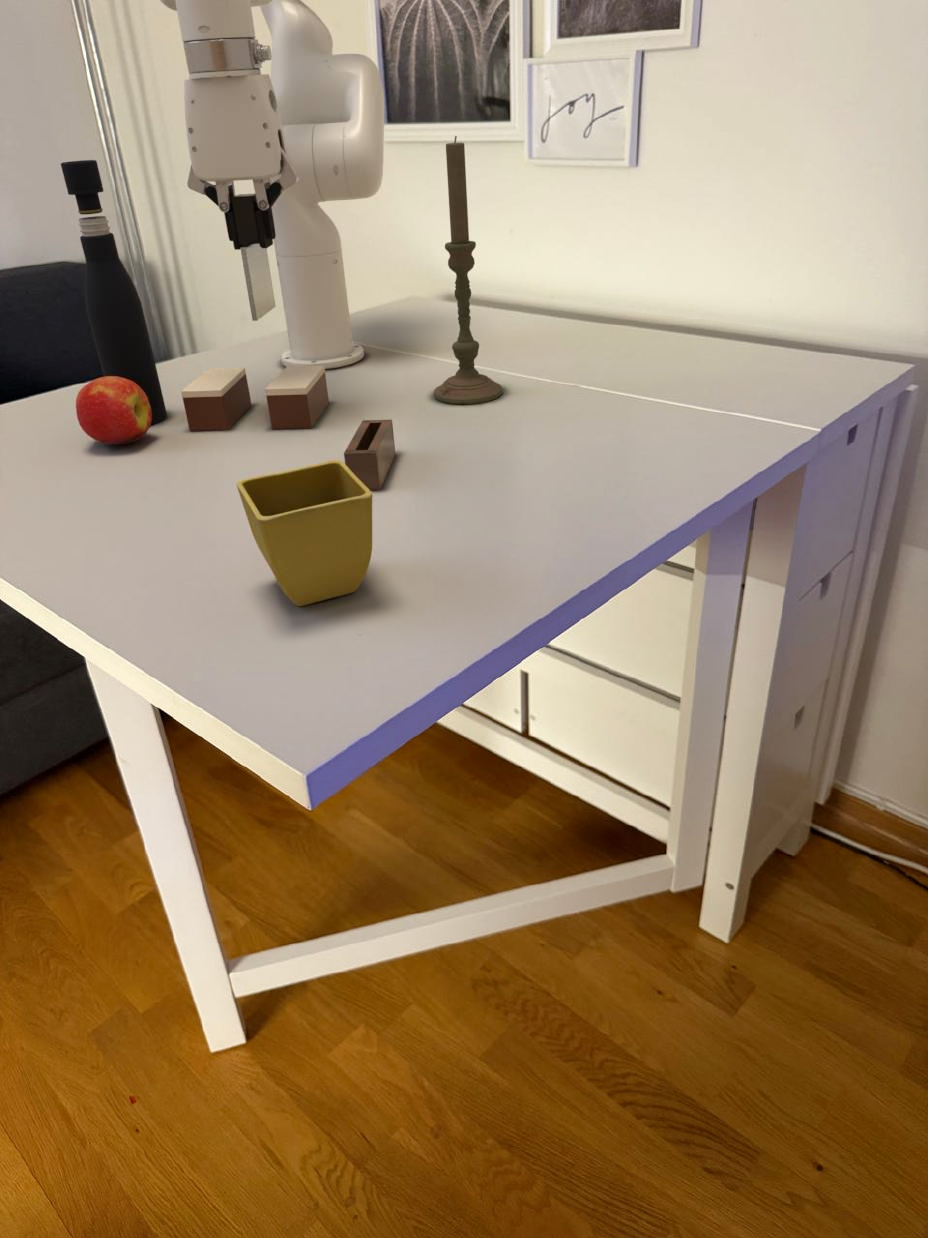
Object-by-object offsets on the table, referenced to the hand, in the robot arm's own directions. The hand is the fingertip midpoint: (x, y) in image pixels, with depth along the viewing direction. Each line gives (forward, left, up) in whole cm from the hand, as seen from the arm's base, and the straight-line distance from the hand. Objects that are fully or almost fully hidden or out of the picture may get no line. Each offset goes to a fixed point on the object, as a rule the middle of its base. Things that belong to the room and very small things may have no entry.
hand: (253, 245), depth 105 cm
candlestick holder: (-7, +24, -20) cm, 32 cm away
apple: (+9, -17, -20) cm, 29 cm away
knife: (0, 0, -8) cm, 8 cm away
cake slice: (+1, +3, -20) cm, 20 cm away
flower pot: (+46, +16, -20) cm, 53 cm away
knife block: (+20, +16, -20) cm, 33 cm away
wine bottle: (0, -18, -20) cm, 28 cm away
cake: (0, -8, -20) cm, 22 cm away
